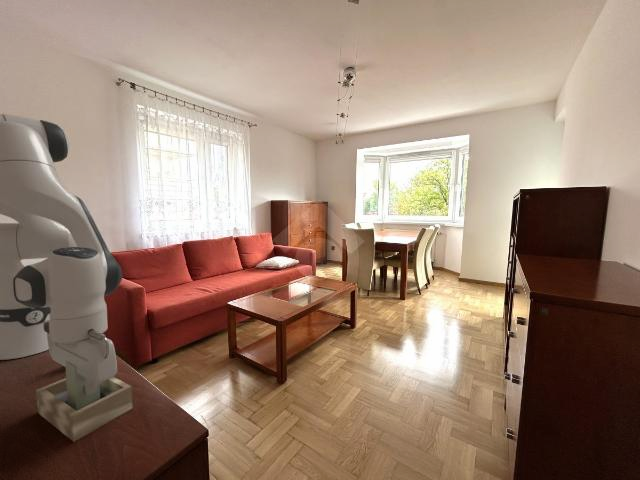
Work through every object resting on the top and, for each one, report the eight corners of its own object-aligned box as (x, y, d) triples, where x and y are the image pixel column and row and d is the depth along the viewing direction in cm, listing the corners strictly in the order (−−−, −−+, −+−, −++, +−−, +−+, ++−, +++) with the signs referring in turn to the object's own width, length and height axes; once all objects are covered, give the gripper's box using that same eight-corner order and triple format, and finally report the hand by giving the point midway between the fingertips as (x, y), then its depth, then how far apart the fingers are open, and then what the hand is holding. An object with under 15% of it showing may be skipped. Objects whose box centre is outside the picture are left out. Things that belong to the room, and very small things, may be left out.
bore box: (37, 412, 56) (36, 390, 56) (94, 386, 65) (93, 366, 65) (73, 442, 49) (72, 416, 49) (132, 408, 58) (131, 386, 57)
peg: (67, 407, 56) (65, 361, 55) (91, 396, 59) (88, 353, 59) (77, 414, 54) (74, 366, 53) (100, 402, 58) (98, 357, 57)
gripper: (125, 329, 54) (127, 395, 55) (76, 312, 63) (79, 368, 64) (86, 342, 48) (90, 415, 49) (39, 321, 57) (43, 383, 58)
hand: (83, 388), depth 56 cm, fingers closed on peg, 4 cm apart
